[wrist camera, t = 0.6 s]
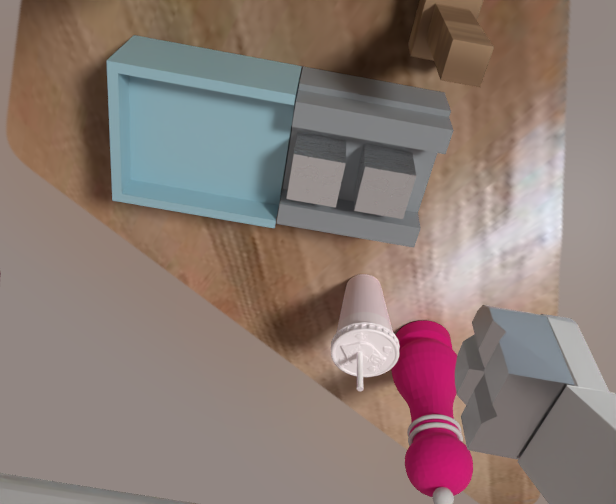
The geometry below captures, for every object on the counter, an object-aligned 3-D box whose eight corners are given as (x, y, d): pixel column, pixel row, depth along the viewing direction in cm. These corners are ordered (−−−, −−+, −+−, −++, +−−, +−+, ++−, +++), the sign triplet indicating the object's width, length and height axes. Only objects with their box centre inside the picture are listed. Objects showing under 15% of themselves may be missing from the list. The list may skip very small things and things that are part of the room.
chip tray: (133, 35, 47) (106, 60, 42) (301, 66, 48) (295, 95, 43) (135, 164, 54) (112, 200, 49) (282, 190, 55) (274, 228, 50)
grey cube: (364, 143, 47) (365, 166, 44) (412, 152, 48) (416, 175, 44) (354, 186, 50) (354, 210, 47) (399, 194, 50) (403, 219, 47)
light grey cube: (297, 132, 47) (293, 154, 44) (346, 140, 47) (345, 163, 44) (290, 175, 50) (286, 199, 46) (336, 182, 50) (335, 207, 46)
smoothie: (349, 255, 59) (348, 355, 48) (405, 277, 60) (417, 380, 49) (323, 298, 63) (316, 401, 51) (376, 318, 64) (381, 423, 52)
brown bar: (427, -30, 43) (448, 10, 34) (479, -20, 44) (515, 23, 34) (407, 44, 47) (422, 100, 37) (456, 53, 47) (483, 112, 37)
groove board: (302, 66, 48) (296, 95, 43) (444, 92, 49) (455, 124, 43) (283, 190, 55) (275, 228, 50) (406, 212, 56) (412, 252, 50)
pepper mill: (406, 370, 68) (423, 537, 52) (378, 330, 65) (386, 496, 49) (464, 349, 66) (501, 518, 50) (438, 307, 62) (468, 473, 46)
